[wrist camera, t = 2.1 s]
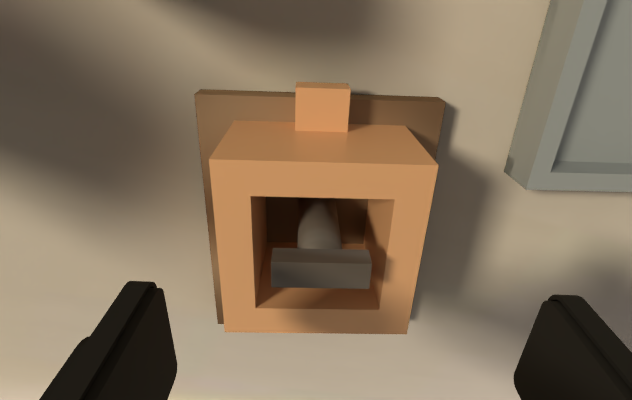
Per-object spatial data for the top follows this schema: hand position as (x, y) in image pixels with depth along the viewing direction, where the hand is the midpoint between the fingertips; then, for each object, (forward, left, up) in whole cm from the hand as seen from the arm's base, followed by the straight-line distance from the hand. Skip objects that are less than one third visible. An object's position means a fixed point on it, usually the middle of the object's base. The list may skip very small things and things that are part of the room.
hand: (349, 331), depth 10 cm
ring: (0, +1, -8) cm, 8 cm away
